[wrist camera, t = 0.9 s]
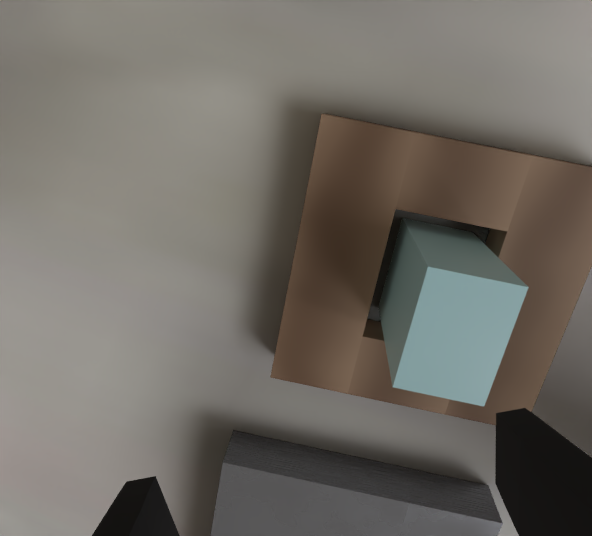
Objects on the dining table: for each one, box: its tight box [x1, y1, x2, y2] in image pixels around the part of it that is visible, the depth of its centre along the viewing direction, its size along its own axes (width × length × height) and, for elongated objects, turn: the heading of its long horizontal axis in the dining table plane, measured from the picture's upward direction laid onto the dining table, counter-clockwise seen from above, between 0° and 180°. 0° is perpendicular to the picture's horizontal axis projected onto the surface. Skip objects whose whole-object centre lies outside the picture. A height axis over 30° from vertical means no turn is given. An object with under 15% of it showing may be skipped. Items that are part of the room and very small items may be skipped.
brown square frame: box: [271, 113, 592, 425], centre depth 22 cm, size 12×12×2 cm
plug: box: [378, 218, 529, 406], centre depth 19 cm, size 3×4×7 cm
